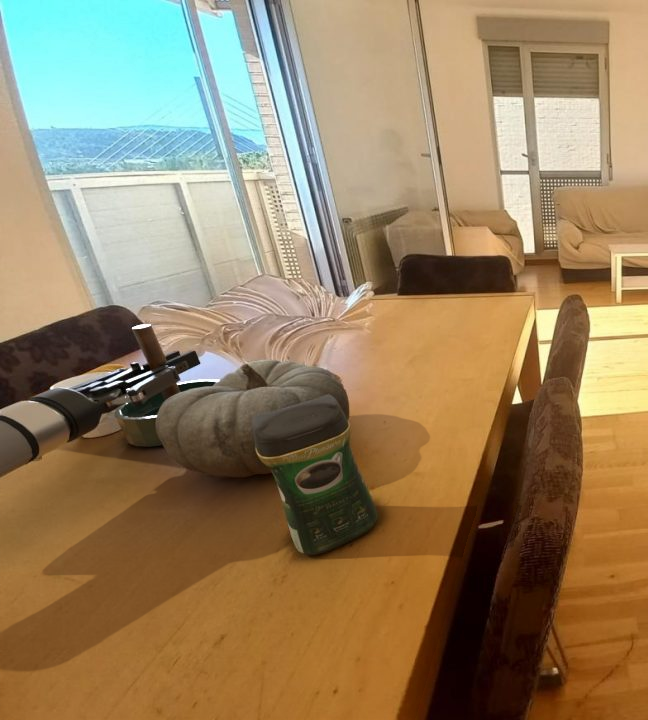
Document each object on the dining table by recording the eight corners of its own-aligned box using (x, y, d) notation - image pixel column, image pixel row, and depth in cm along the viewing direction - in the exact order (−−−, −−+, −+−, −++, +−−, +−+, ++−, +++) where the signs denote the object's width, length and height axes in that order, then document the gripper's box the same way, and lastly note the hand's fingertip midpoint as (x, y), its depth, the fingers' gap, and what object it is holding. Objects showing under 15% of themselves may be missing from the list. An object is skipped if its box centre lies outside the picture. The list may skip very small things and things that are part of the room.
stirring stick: (163, 420, 87) (119, 327, 80) (198, 409, 90) (159, 319, 83) (167, 429, 83) (121, 333, 76) (203, 418, 87) (162, 325, 80)
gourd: (121, 507, 64) (94, 383, 60) (220, 438, 87) (206, 346, 83) (330, 489, 70) (317, 376, 66) (370, 429, 94) (362, 343, 90)
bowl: (126, 428, 89) (111, 400, 86) (228, 398, 99) (218, 372, 97) (133, 460, 79) (117, 429, 76) (246, 423, 89) (235, 395, 87)
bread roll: (141, 372, 113) (134, 357, 112) (116, 388, 105) (108, 372, 104) (98, 377, 111) (90, 362, 110) (70, 394, 103) (61, 377, 102)
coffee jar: (368, 499, 68) (334, 383, 61) (385, 528, 62) (349, 404, 55) (289, 532, 62) (241, 408, 55) (300, 568, 57) (248, 435, 49)
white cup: (135, 413, 94) (113, 368, 90) (136, 428, 89) (112, 380, 85) (78, 429, 89) (51, 381, 85) (75, 445, 84) (47, 395, 80)
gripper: (6, 446, 68) (155, 376, 89) (111, 444, 68) (235, 374, 89) (-24, 400, 65) (138, 339, 87) (86, 397, 65) (221, 337, 86)
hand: (187, 357), depth 88 cm, fingers closed on stirring stick, 2 cm apart
